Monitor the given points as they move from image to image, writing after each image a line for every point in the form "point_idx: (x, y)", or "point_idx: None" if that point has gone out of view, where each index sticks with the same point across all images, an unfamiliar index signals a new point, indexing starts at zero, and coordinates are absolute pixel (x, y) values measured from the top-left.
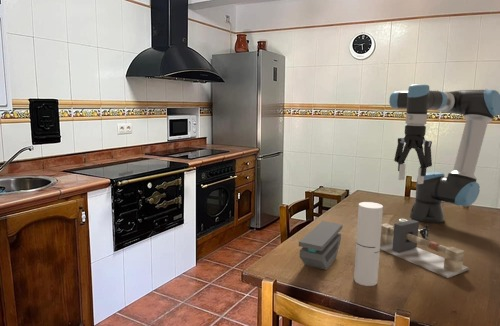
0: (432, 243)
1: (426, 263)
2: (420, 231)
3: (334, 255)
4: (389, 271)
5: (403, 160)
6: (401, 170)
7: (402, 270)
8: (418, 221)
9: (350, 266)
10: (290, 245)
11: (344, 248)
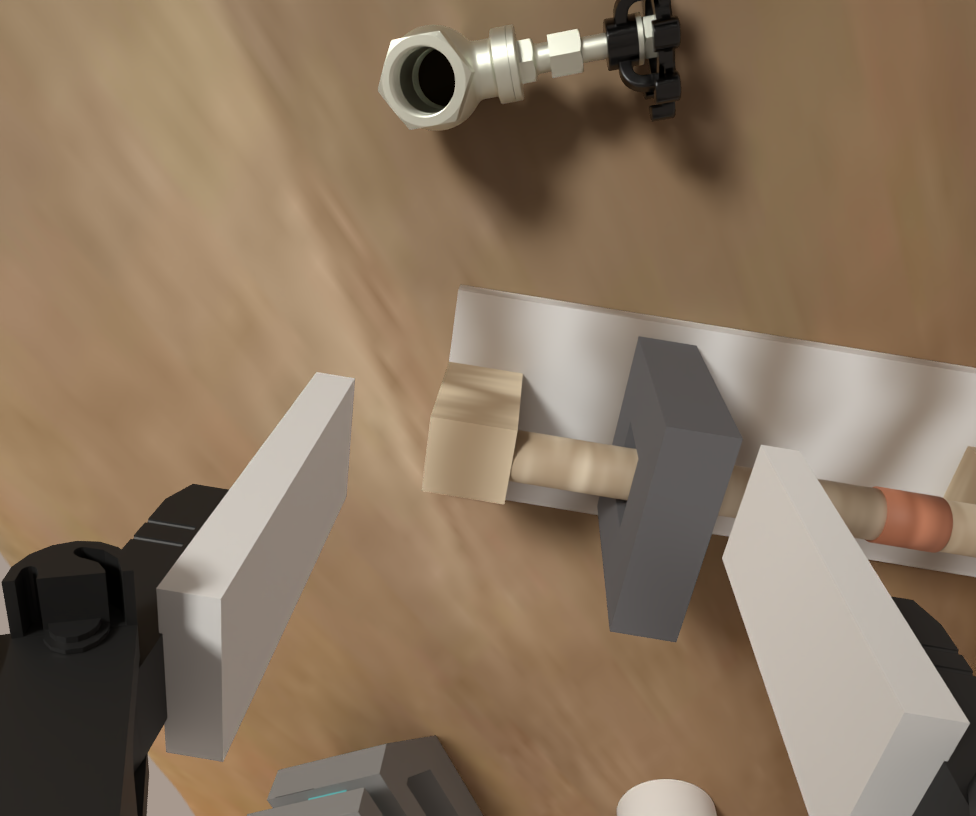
0: (895, 544)
1: None
2: (614, 68)
3: (445, 780)
4: (701, 689)
5: (97, 725)
6: (285, 609)
7: (745, 642)
8: (736, 437)
9: (541, 758)
10: (194, 767)
11: (375, 624)
